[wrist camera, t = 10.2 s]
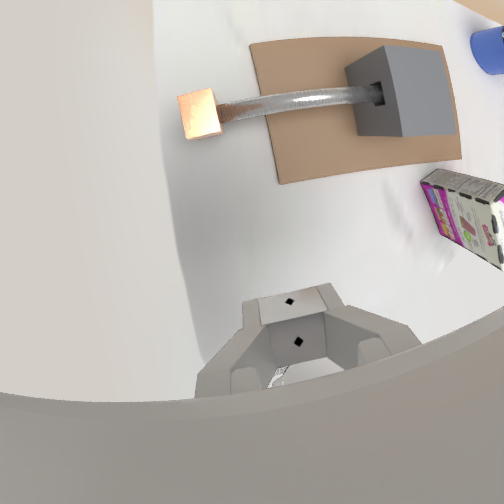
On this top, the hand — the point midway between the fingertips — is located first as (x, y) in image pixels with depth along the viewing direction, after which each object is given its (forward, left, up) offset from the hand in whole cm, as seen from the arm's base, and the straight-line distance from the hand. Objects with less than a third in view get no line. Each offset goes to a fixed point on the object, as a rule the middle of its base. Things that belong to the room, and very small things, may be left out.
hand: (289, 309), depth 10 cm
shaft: (+9, -8, -25) cm, 28 cm away
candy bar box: (-8, -31, -31) cm, 45 cm away
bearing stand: (+9, -20, -31) cm, 38 cm away
